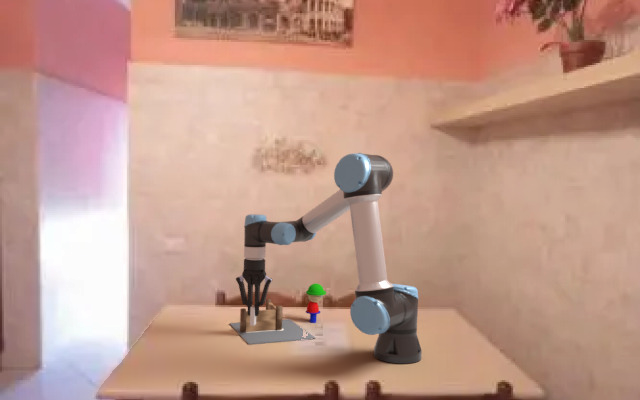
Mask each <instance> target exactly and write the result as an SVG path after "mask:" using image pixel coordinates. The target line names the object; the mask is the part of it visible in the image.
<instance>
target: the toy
mask: <svg viewBox="0 0 640 400" xmlns="http://www.w3.org/2000/svg"><path fill="white" fill-rule="evenodd" d="M305 294H306V295H307V299H308V300H309V302H308V303H307V308H306V311H305V313H306V314H309V323H311V324H316V323H317V315H319V314H321V311H320V309H319V304H318V303H319V302H321V300H322V299H323V296H324V295H327V291H325V290H324V287H323V285H321V284H320V283H312V284H310V285H309V286H308V288H307V290H305Z"/></svg>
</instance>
